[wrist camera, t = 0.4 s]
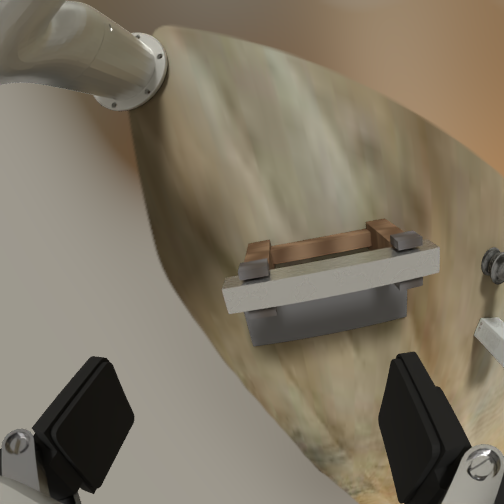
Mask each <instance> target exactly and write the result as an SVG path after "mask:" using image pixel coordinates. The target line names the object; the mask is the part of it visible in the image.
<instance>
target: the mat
mask: <svg viewBox="0 0 504 504" xmlns="http://www.w3.org/2000/svg"><path fill="white" fill-rule="evenodd" d="M244 314H245V317H246V321H247V325H248V329H249V332H250V336H251V340H252V343H253V346H260V345H267V344H274V343H280V342H287V341H293V340H299V339H304V338H310V337H316V336H321V335H326V334H331V333H337V332H341V331H346V330H351V329H356V328H360V327H365V326H369V325H374V324H378V323H382V322H386V321H390V320H395V319H398V318H402V317H406V315H407V289H406V290H402V291H399V289H398V288H397V287H396V286H395V285H394V283H393V284H388V285H384V286H379V287H375V288H370V289H366V290H361V291H356V292H351V293H346V294H341V295H336V296H331V297H326V298H321V299H316V300H310V301H305V302H299V303H294V304H288V305H282V306H277V316H271V317H265V318H259V319H252V320H250V318H249V314H248V311H245V312H244Z"/></svg>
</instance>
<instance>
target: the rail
mask: <svg viewBox="0 0 504 504" xmlns="http://www.w3.org/2000/svg"><path fill="white" fill-rule="evenodd" d="M422 241H423V246H418V247H413V248H409V249H404V250H397V249H396V248H395V247H394V246H392V247H388V248H383V249H378V250H373V251H367V252H362V253H357V254H352V255H347V256H342V257H337V258H331V259H326V260H321V261H316V262H310V263H305V264H299V265H294V266H289V267H283V268H278V269H272V270H269V276H264V277H258V278H252V279H247V280H241V281H240V279H239V275H238V276H232V277H227V278H225V281H224V284H223V287H222V292H223V296H224V299H225V303H226V306H227V310H228V313H229V314H232V313H239V312H245V311H252V310H258V309H264V308H270V307H276V306H282V305H288V304H294V303H299V302H305V301H310V300H316V299H321V298H326V297H331V296H336V295H341V294H346V293H351V292H356V291H361V290H366V289H370V288H375V287H379V286H384V285H388V284H393V283H397V282H402V281H406V280H410V279H414V278H418V277H422V276H427V275H431V274H435V273H439V264H440V247H439V246H437V245H436V244H434V243H433V242H431V241H430V240H428V239H426V240H422Z"/></svg>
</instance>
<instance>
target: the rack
mask: <svg viewBox="0 0 504 504" xmlns="http://www.w3.org/2000/svg"><path fill="white" fill-rule="evenodd" d="M392 246H394V247H395V248H396V249H397V250H404V249H409V248H413V247H418V246H423V241H422V236H420V235H419V234H417V233H416V232H414V231H408V232H404V231H402V230H401V229H399V228H398V227H396V226H395V225H394V224H392V223H391V222H389V221H388V220H386V219H379V220H374V221H368V222H366V229H362V230H357V231H351V232H346V233H340V234H335V235H330V236H324V237H319V238H313V239H308V240H303V241H297V242H292V243H287V244H281V245H276V246H271V244H270V240H266V241H260V242H255V243H250V244H249V245H248V249H247V253H246V257H245V261H244V262H243V263H240V266H239V269H238V275H239V279H240V281H241V280H247V279H252V278H258V277H264V276H269V270H272V269H275V264H279V263H285V262H290V261H296V260H301V259H307V258H312V257H317V256H323V255H328V254H333V253H338V252H344V251H349V250H354V249H359V248H364V247H368V249H369V250H370V251H373V250H378V249H383V248H388V247H392ZM394 285H395V286H396V287H397V288H398V289H399V291H402V290H406V289H410V288H414V287H418V286H422V285H423V277H418V278H414V279H410V280H406V281H402V282H397V283H394ZM248 314H249V318H250V320H252V319H259V318H265V317H271V316H277V306H276V307H270V308H264V309H258V310H252V311H248Z"/></svg>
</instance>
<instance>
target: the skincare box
mask: <svg viewBox="0 0 504 504" xmlns="http://www.w3.org/2000/svg"><path fill="white" fill-rule="evenodd" d="M474 336H475V337H476V338H477V339H478V340H479V341H480V342H481V343H482V344H483V345H484V347H485V348H486V349H487V350H488V351H489V352H490V353H491V354H492V355H493V356H494V358H495V359H496V360H497V361H498V362H499V363H500V364H501V365H502V367H503V368H504V322H503V321H502V320H501V319H500V318H498V317H496V318H481V319H480V321H479V323H478V326H477V328H476V331H475V333H474Z"/></svg>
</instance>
